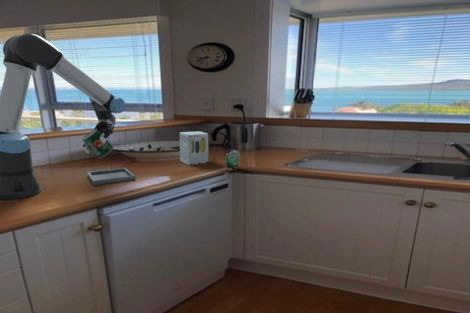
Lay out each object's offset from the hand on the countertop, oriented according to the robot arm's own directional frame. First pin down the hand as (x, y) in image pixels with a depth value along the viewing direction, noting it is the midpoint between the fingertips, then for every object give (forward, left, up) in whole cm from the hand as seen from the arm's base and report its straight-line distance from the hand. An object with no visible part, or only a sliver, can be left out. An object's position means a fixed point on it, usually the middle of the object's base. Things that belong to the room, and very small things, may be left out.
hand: (94, 145), depth 135 cm
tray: (+10, -1, -17) cm, 20 cm away
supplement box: (+52, -31, -17) cm, 63 cm away
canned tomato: (+7, -2, -4) cm, 8 cm away
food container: (+37, -57, -17) cm, 70 cm away
